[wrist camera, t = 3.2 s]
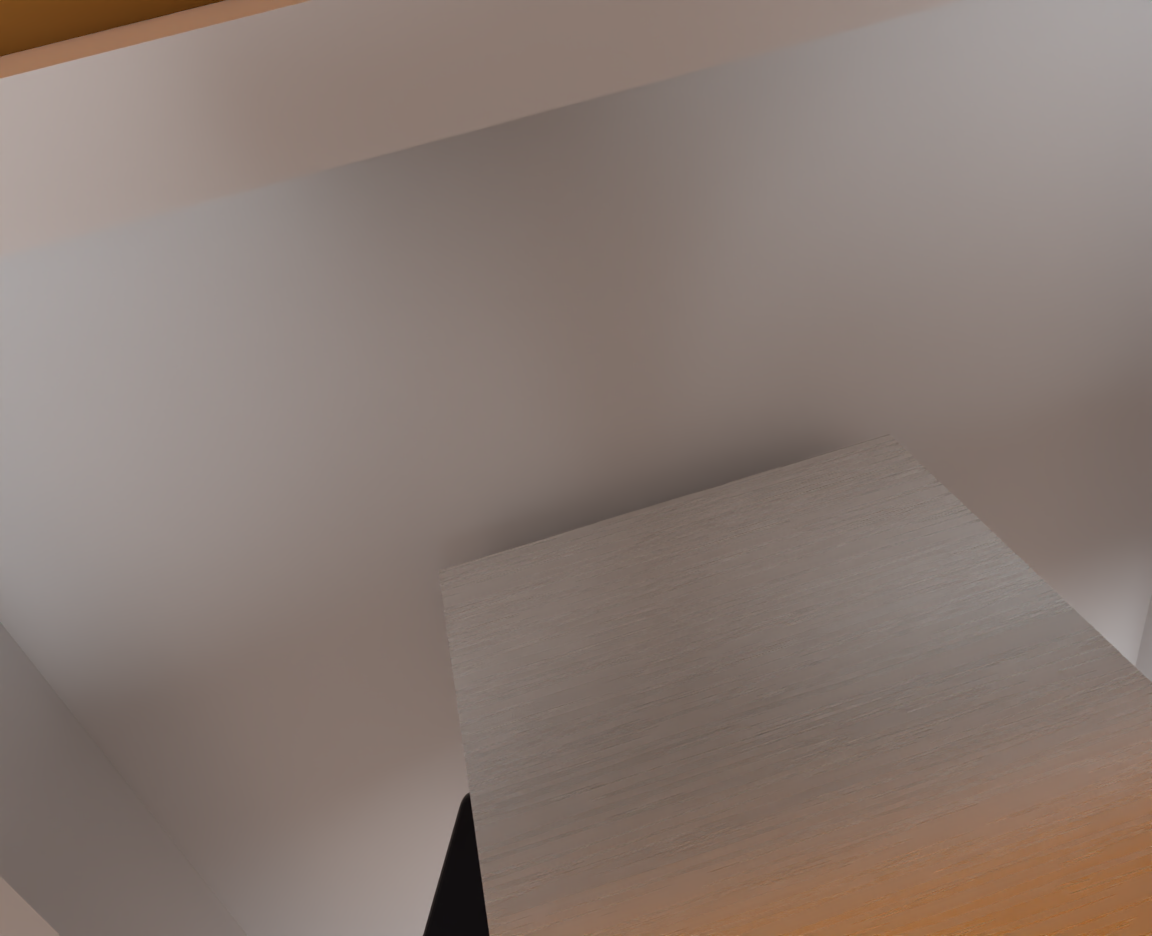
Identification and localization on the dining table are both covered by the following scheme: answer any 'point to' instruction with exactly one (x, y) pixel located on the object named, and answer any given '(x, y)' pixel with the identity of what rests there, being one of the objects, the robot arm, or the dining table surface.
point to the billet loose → (797, 722)
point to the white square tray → (499, 376)
